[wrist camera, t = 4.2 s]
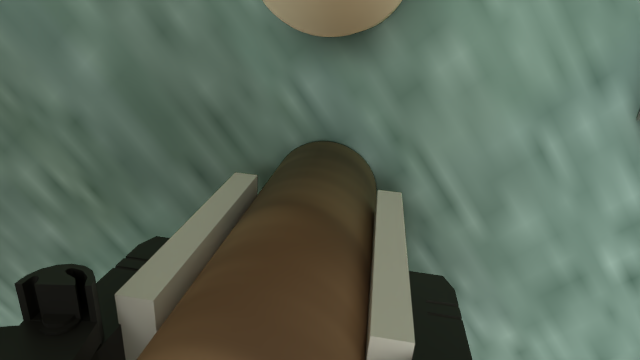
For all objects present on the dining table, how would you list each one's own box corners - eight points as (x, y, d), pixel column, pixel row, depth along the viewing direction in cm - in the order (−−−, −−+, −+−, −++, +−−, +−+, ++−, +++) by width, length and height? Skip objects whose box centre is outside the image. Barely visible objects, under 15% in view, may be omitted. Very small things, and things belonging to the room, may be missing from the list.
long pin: (273, 229, 17) (63, 616, 6) (276, 135, 16) (5, 421, 4) (369, 242, 17) (337, 689, 6) (382, 147, 15) (372, 498, 4)
